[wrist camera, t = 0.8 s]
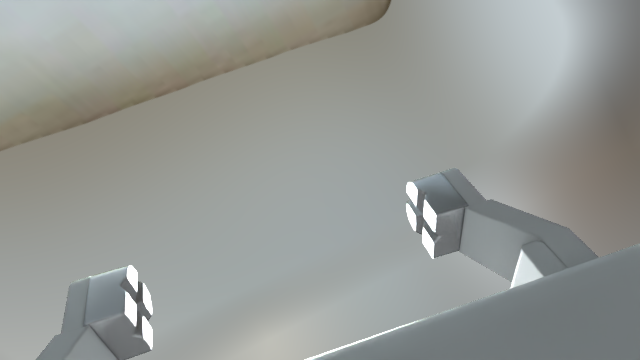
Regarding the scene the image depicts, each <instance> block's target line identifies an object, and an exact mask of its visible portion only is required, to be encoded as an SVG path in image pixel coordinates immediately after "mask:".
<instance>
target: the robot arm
mask: <svg viewBox="0 0 640 360" xmlns="http://www.w3.org/2000/svg"><path fill="white" fill-rule="evenodd" d="M407 193H408V194H409V196H410V197H411V198H410V199H409V200H408V202H407V213H408V217H409V220H410V223H411V225H412V227H413V228H414V230H415V231H416V232H417V233H419V234H422V235H423V244H424V245H425V247H426V248H427V250H428V251H429V253H430V254H431V256H432V257H433V258H436V257H439V256H442V255H445V254H449V253H452V252H456V251H459V250H460V252H461V253H463V254H464V255H466V256H468V257H469V258H471V259H473V260H474V261H476V262H478V263H479V264H481V265H483V266H485V267H486V268H488V269H490V270H491V271H493V272H495V273H497V274H498V275H500V276H502V277H503V278H505V279H507V280H509V281H510V282H512V285H511V288H510V289H507V290H505V291H502V292H499V293H496V294H493V295H490V296H487V297H484V298H481V299H478V300H476V301H473V302H470V303H467V304H464V305H461V306H458V307H456V308H453V309H450V310H447V311H444V312H441V313H438V314H435V315H433V316H430V317H427V318H424V319H421V320H418V321H415V322H412V323H410V324H407V325H404V326H401V327H398V328H395V329H392V330H390V331H387V332H384V333H381V334H378V335H375V336H372V337H370V338H367V339H364V340H361V341H358V342H355V343H353V344H350V345H347V346H344V347H341V348H339V349H335V350H333V351H329V352H326V353H324V354H321V355H318V356H315V357H312V358H309V359H307V360H640V244H637V245H634V246H631V247H628V248H625V249H622V250H619V251H617V252H614V253H611V254H608V255H605V256H602V257H598V256H597V255H596V254H595V253H594V252H593V251H592V250H591V249H590V248H589V247H588V246H587V245H586V244H585V243H583V241H582V240H581V239H579V238H578V237H577V236H576V235H575V234H574V233H573V232H572V231H571V230H570V229H569V228H567V227H564V226H561V225H559V224H556V223H553V222H551V221H548V220H545V219H543V218H539V217H537V216H534V215H532V214H529V213H526V212H524V211H521V210H518V209H515V208H513V207H510V206H508V205H505V204H502V203H499V202H497V201H494V200H487V201H486V199H485V198H484V197H483V196H482V195H481V194H480V193H479V192H478V191H477V190H476V189H475V187H474V186H473V185H472V184H471V183H470V182H469V181H468V180H467V179H466V177H465V176H464V175H463V174H462V173H461V172H460V171H459V170H458V169H456V168H452V169H449V170H446V171H443V172H440V173H437V174H433V175H430V176H427V177H423V178H420V179H417V180H414V181H410V182H409V183H408V185H407ZM151 316H152V306H151V301H150V296H149V293H148V291H147V289H146V287H145V285H144V284H143V283H141V282H138V281H137V272H136V271H135V270H134V268H133V267H132V266H125V267H122V268H118V269H115V270H111V271H107V272H104V273H100V274H96V275H93V276H90V277H87V278H83V279H79V280H76V281H73V282H72V284H71V285H70V286H69V291H68V297H67V302H66V308H65V313H64V319H63V324H62V330H61V334H59V335H56V336H54V338H53V339H52V340H51V341H50V343H49V344H48V345H47V346H46V348H45V349H44V350H43V351H42V353H41V354H40V355H39V356H38V358H37V359H36V360H126V359H129V358H132V357H135V356H138V355H140V354H143V353H146V352H149V351H151V350H152V329H151V327H150V326H149V324H148V323H147V322H148V320H149V319H150V317H151Z"/></svg>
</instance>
